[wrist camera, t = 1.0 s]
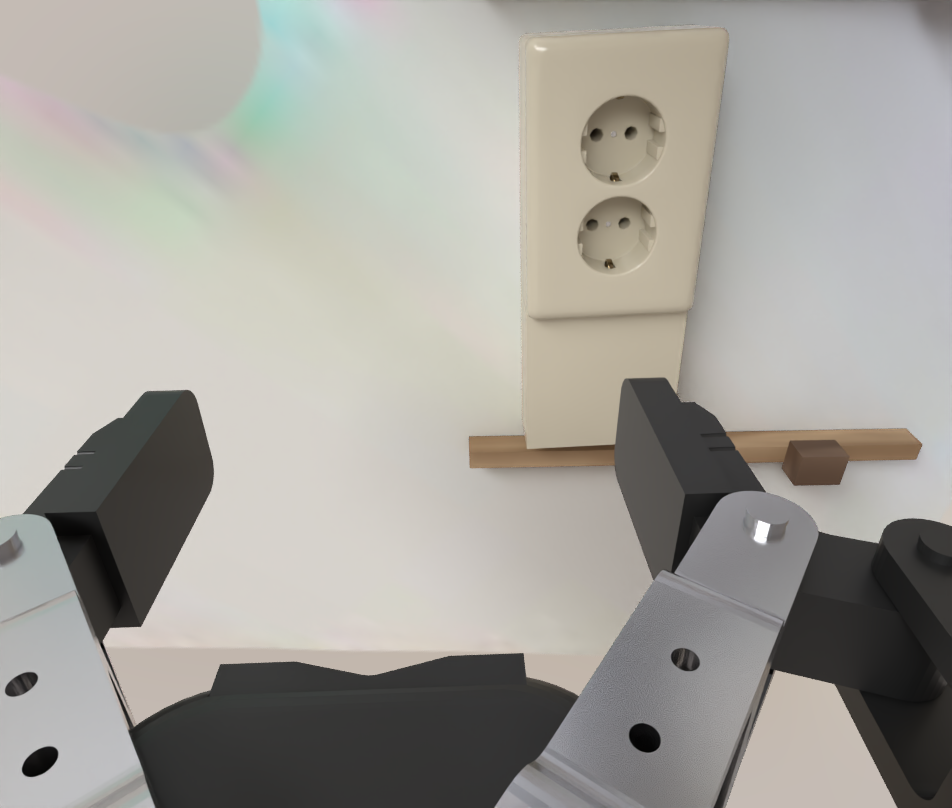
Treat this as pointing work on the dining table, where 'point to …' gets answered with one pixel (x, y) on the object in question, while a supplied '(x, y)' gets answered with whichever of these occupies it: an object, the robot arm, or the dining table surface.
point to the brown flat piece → (800, 451)
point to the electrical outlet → (610, 214)
